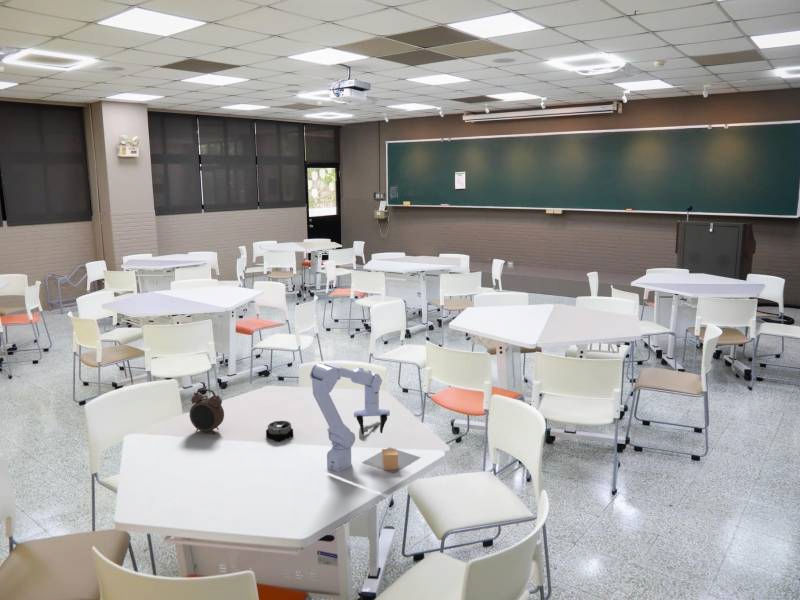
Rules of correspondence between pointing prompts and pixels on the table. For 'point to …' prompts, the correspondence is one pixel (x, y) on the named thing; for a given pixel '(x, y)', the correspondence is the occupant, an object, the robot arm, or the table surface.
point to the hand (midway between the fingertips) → (371, 432)
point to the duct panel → (403, 461)
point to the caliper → (365, 428)
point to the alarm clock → (206, 411)
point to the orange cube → (389, 459)
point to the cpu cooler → (279, 431)
